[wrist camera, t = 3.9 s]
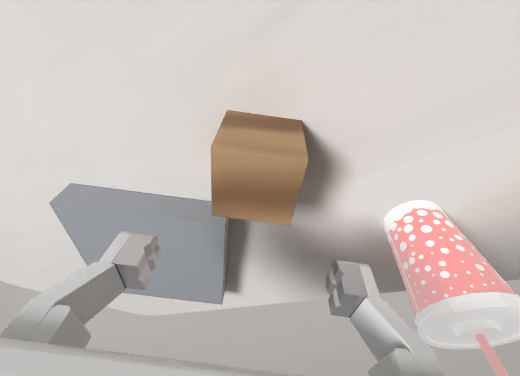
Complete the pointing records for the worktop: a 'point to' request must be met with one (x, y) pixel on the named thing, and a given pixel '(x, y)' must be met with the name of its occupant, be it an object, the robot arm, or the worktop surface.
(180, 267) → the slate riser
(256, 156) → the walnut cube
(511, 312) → the beverage cup
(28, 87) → the worktop surface
